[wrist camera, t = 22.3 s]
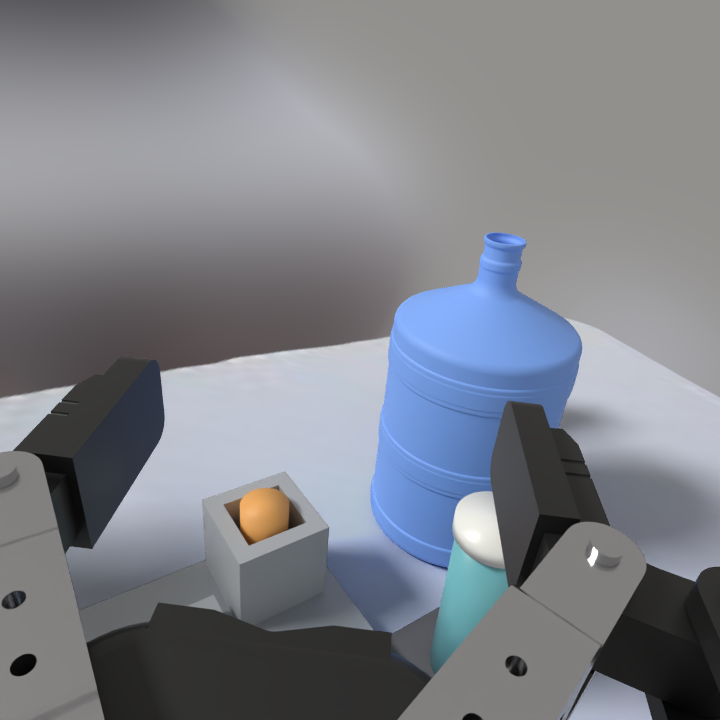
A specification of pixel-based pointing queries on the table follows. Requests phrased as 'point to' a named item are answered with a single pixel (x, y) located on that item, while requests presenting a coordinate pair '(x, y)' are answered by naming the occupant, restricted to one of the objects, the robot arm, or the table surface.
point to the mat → (416, 641)
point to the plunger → (263, 514)
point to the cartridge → (469, 575)
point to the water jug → (462, 394)
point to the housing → (246, 574)
